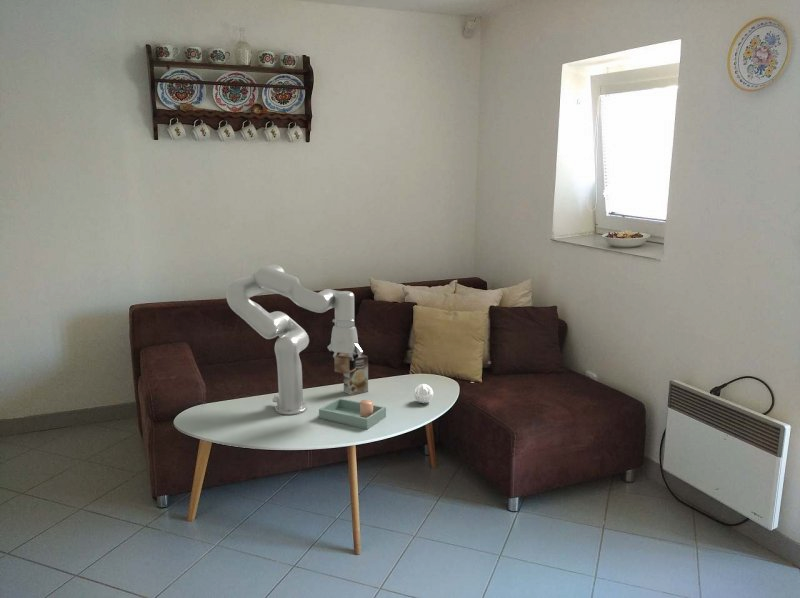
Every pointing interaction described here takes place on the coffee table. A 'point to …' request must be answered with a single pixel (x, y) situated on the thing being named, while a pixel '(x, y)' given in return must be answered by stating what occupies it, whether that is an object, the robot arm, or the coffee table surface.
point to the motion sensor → (423, 393)
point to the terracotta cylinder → (366, 408)
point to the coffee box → (357, 377)
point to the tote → (350, 413)
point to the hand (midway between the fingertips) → (345, 367)
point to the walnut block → (342, 363)
